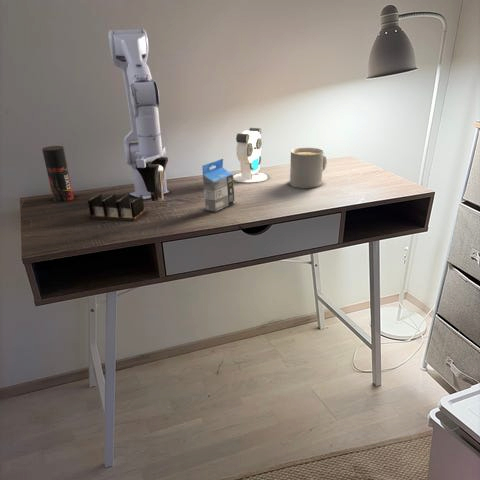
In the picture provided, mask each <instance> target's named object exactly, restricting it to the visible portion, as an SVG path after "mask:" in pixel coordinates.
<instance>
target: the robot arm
mask: <svg viewBox="0 0 480 480" xmlns="http://www.w3.org/2000/svg"><path fill="white" fill-rule="evenodd" d="M108 44H109V50H110V54H111V55H110V56H111V61H112V63H113V66H115V67H117V68H119V69H120V70H121V74H122V76H123V81H124V88H125V95H126V101H127V108H128V114H129V121H130V127H131V128H130V129H131V130H130V131H129V132H128V133H127V134H126V135H125V136H124V139H123V148H124V149H123V151H124V156H125V163H126V164H127V165H128V166H131V171H132V179H133V187H134V191H132V192H129V196H132V197H135V198H137V197H139V196H140V195H142V196H143V200H148V199H151V195H150V192H156V178H157V171H158V168H159V165H161V166H162V167H163V189H164V195H165V194H168V193H170V191H169V190H168V185H167V175H166V174H167V173H166V167H167V164H168V162H169V157H167V156H165V155H166V154H167V153H166V147H165V146H163V144H162V134H161V126H160V125H161V124H160V115H159V107H160V91H159V86H158V83H157V81H156V80H155V79H153V77H152V74H151V70H150V68H149V65H148V64H147V62H148V61H147V60H148V55H149V40H148V34H147V30H145V28H140V29H115V30H114V29H110V30H109V31H108ZM156 164H159V165H156Z"/></svg>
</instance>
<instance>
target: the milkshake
mask: <svg viewBox="0 0 480 480" xmlns="http://www.w3.org/2000/svg"><path fill="white" fill-rule="evenodd" d="M156 165H159V164H156ZM150 195H151V198H150V199H151V202H154V203H157V202H162V201H164V200H165V196H164V195H165V194H164V189H163V167H162V166H161V165H159V168H158V171H157V178H156V192H150Z"/></svg>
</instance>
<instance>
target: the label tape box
mask: <svg viewBox="0 0 480 480" xmlns="http://www.w3.org/2000/svg"><path fill="white" fill-rule="evenodd" d="M223 166H224V158H221V159H218V160H215V161H212V162H209V163H206V164H204V165H203V164H202V167H201V170H202V181H203V182H202V183H203V184H202V185H203V194H204V195H203V196H204V206H205V210H206V211H210V212H215V213H217V212H218V211H220V210H223V209H225V208H227V207H229V206H231V205H233V204H235V187H234V179H233V176H234V174H233V173H231V172H230V171H228V170H227V169H226V168H224V167H223ZM212 167H213V168H212ZM210 168H211V169H210Z"/></svg>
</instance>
